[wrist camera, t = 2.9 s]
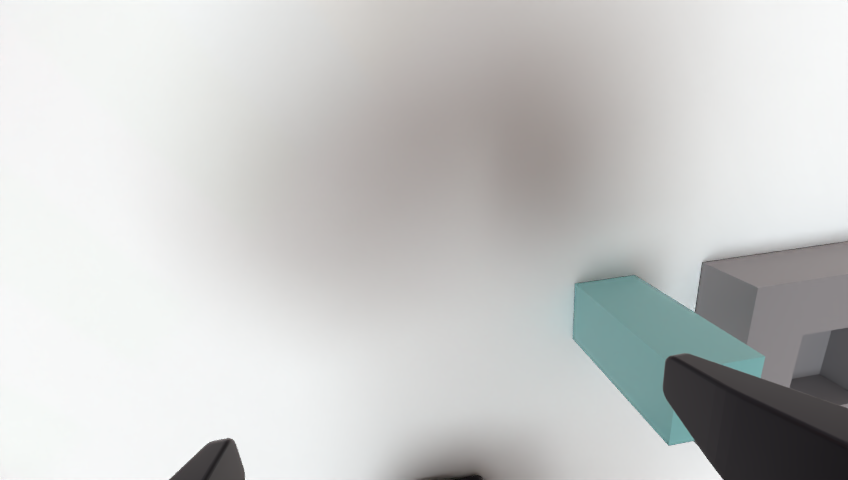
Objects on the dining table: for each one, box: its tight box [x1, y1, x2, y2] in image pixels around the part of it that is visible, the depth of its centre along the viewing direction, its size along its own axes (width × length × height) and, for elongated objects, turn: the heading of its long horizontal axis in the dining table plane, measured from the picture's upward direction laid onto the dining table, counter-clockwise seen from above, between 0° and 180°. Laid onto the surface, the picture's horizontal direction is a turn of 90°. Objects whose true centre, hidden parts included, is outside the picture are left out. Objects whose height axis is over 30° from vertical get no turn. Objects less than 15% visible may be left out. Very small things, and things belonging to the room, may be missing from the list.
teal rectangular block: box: [573, 275, 765, 446], centre depth 20 cm, size 4×4×8 cm
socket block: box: [694, 242, 848, 444], centre depth 24 cm, size 12×12×4 cm
